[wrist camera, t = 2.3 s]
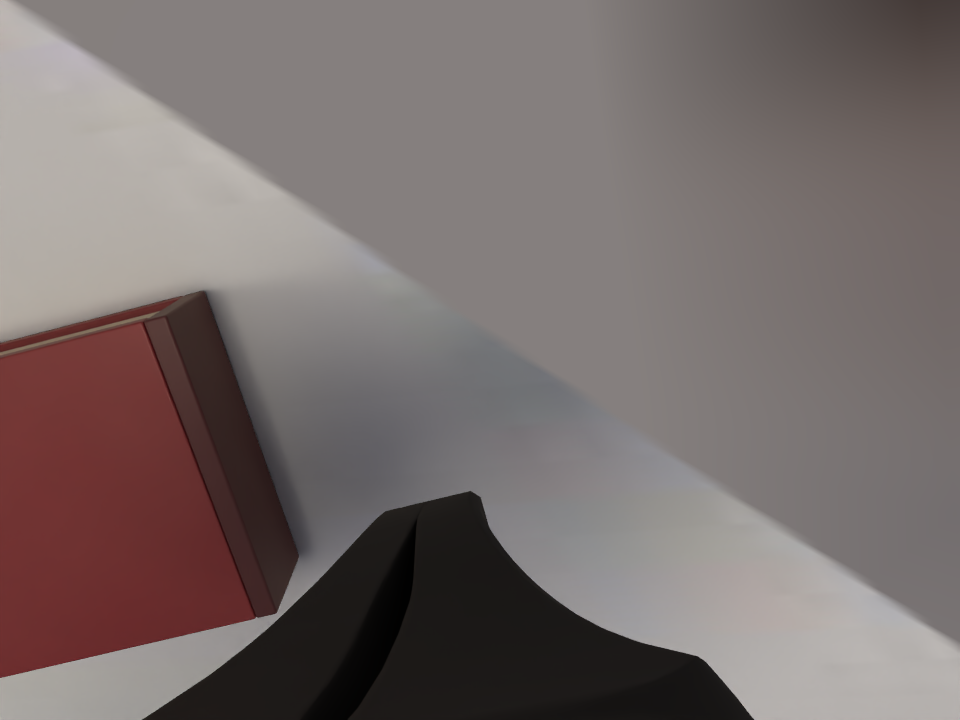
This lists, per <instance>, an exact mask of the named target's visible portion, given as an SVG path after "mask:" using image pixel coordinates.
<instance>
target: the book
mask: <svg viewBox="0 0 960 720" xmlns="http://www.w3.org/2000/svg"><path fill="white" fill-rule="evenodd" d="M298 558H299V555H298V552H297V549H296V547H295V544H294V541H293V538H292V535H291V533H290V530H289V527H288V524H287V521H286V519H285V516H284V513H283V510H282V507H281V505H280V502H279V499H278V496H277V493H276V491H275V488H274V485H273V482H272V479H271V476H270V474H269V471H268V468H267V465H266V462H265V460H264V457H263V454H262V451H261V448H260V446H259V443H258V440H257V437H256V434H255V432H254V429H253V426H252V423H251V420H250V418H249V415H248V412H247V409H246V406H245V404H244V401H243V398H242V395H241V392H240V390H239V387H238V384H237V381H236V378H235V376H234V373H233V370H232V367H231V364H230V362H229V359H228V356H227V353H226V350H225V348H224V345H223V342H222V339H221V336H220V333H219V331H218V328H217V325H216V322H215V319H214V317H213V314H212V311H211V308H210V305H209V303H208V300H207V297H206V294H205V292H204V291H199V292H196V293H192V294H188V295H185V296H180V297H176V298H172V299H168V300H164V301H161V302H157V303H153V304H149V305H145V306H141V307H137V308H134V309H130V310H126V311H122V312H118V313H114V314H110V315H107V316H103V317H99V318H95V319H91V320H87V321H84V322H80V323H76V324H72V325H68V326H64V327H60V328H57V329H53V330H49V331H45V332H41V333H37V334H33V335H30V336H26V337H22V338H18V339H14V340H10V341H6V342H3V343H0V678H2V677H6V676H11V675H15V674H19V673H23V672H28V671H32V670H36V669H41V668H45V667H49V666H54V665H58V664H62V663H67V662H71V661H75V660H79V659H84V658H88V657H92V656H97V655H101V654H105V653H110V652H114V651H118V650H122V649H127V648H131V647H135V646H140V645H144V644H148V643H153V642H157V641H161V640H166V639H170V638H174V637H178V636H183V635H187V634H191V633H196V632H200V631H204V630H209V629H213V628H217V627H221V626H226V625H230V624H234V623H239V622H243V621H247V620H252V619H255V618H256V617H257V618H259V617H264V616H268V615H272V614H275V613H277V611H278V609H279V606H280V604H281V601H282V599H283V596H284V594H285V591H286V589H287V586H288V583H289V581H290V578H291V576H292V573H293V571H294V568H295V566H296V563H297V561H298Z"/></svg>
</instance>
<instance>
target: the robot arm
mask: <svg viewBox="0 0 960 720" xmlns="http://www.w3.org/2000/svg"><path fill="white" fill-rule="evenodd" d="M142 720H754V719H753V718H752V717H751V715H750V714H749V713H748V712H747V710H746V709H745V708H744V706H743V705H742V704H741V703H740V701H739V700H738V699H737V698H736V696H735V695H734V694H733V693H732V692H731V690H730V689H729V688H728V687H727V686H726V685H725V683H724V682H723V681H722V680H721V679H720V677H719V676H718V675H717V674H716V673H715V672H714V671H713V669H712V668H711V667H710V666H709V665H708V664H707V663H706V662H705V661H704V660H702V659H701V658H699V657H698V656H694V655H690V654H686V653H682V652H677V651H673V650H669V649H665V648H661V647H656V646H652V645H648V644H644V643H640V642H637V641H634V640H631V639H629V638H626V637H624V636H621V635H618V634H616V633H613V632H611V631H608V630H605V629H603V628H601V627H599V626H597V625H595V624H593V623H592V622H590V621H588V620H586V619H584V618H582V617H580V616H579V615H577V614H575V613H574V612H572V611H571V610H569V609H568V608H566V607H565V606H564V605H562V604H561V603H559V602H558V601H556V600H555V599H554V598H553V597H552V596H550V595H549V594H548V593H547V592H545V591H544V590H543V589H542V588H540V587H539V586H538V585H537V584H536V583H535V582H534V581H533V580H532V579H531V578H530V577H529V576H528V575H527V574H526V573H525V572H524V571H523V570H522V569H521V568H520V567H519V566H518V565H517V564H516V563H515V562H514V561H513V559H512V558H511V557H510V556H509V555H508V553H507V552H506V551H505V550H504V548H503V547H502V546H501V544H500V543H499V541H498V540H497V539H496V537H495V536H494V534H493V533H492V531H491V530H490V528H489V526H488V522H487V519H486V515H485V512H484V508H483V504H482V501H481V497H479V496H478V495H476V494H475V493H473V492H471V491H469V492H464V493H460V494H456V495H452V496H448V497H444V498H439V499H435V500H431V501H427V502H423V503H418V504H414V505H410V506H406V507H402V508H397V509H393V510H389V511H385V512H384V513H383V514H382V515H380V516H379V517H378V518H377V519H376V520H375V521H374V522H373V523H372V524H371V525H370V526H369V527H368V528H367V529H366V530H365V531H364V532H363V533H362V534H361V535H360V537H359V538H358V539H357V540H356V541H355V542H354V543H353V544H352V545H351V546H350V547H349V549H348V550H347V551H346V552H345V553H344V554H343V555H342V556H341V557H340V558H339V559H338V560H337V561H336V562H335V563H334V565H333V566H332V567H331V568H330V569H329V570H328V571H327V572H326V573H325V574H324V575H323V576H322V577H321V578H320V579H319V580H318V581H317V582H316V583H315V584H314V585H313V586H312V587H311V588H310V589H309V590H308V591H307V592H306V593H305V594H304V595H303V596H302V597H301V598H300V599H299V600H298V601H297V602H296V603H295V604H294V605H293V606H292V607H290V608H289V609H288V610H287V611H286V612H285V613H284V614H283V615H282V616H281V617H280V618H279V619H278V620H277V621H276V622H275V623H274V624H273V625H271V626H270V627H269V628H268V629H267V630H266V631H265V632H263V633H262V634H261V635H260V636H259V637H257V638H256V639H255V640H254V641H253V642H252V643H250V644H249V645H248V646H247V647H245V648H244V649H243V650H242V651H240V652H239V653H238V654H236V655H235V656H234V657H233V658H231V659H230V660H229V661H227V662H226V663H225V664H224V665H222V666H221V667H220V668H218V669H217V670H216V671H214V672H213V673H212V674H210V675H209V676H207V677H206V678H204V679H203V680H201V681H200V682H198V683H197V684H195V685H194V686H192V687H191V688H189V689H188V690H186V691H185V692H183V693H182V694H180V695H179V696H177V697H176V698H174V699H173V700H171V701H170V702H168V703H167V704H165V705H164V706H162V707H161V708H159V709H158V710H156V711H155V712H153V713H152V714H150V715H149V716H147V717H146V718H144V719H142Z"/></svg>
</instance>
